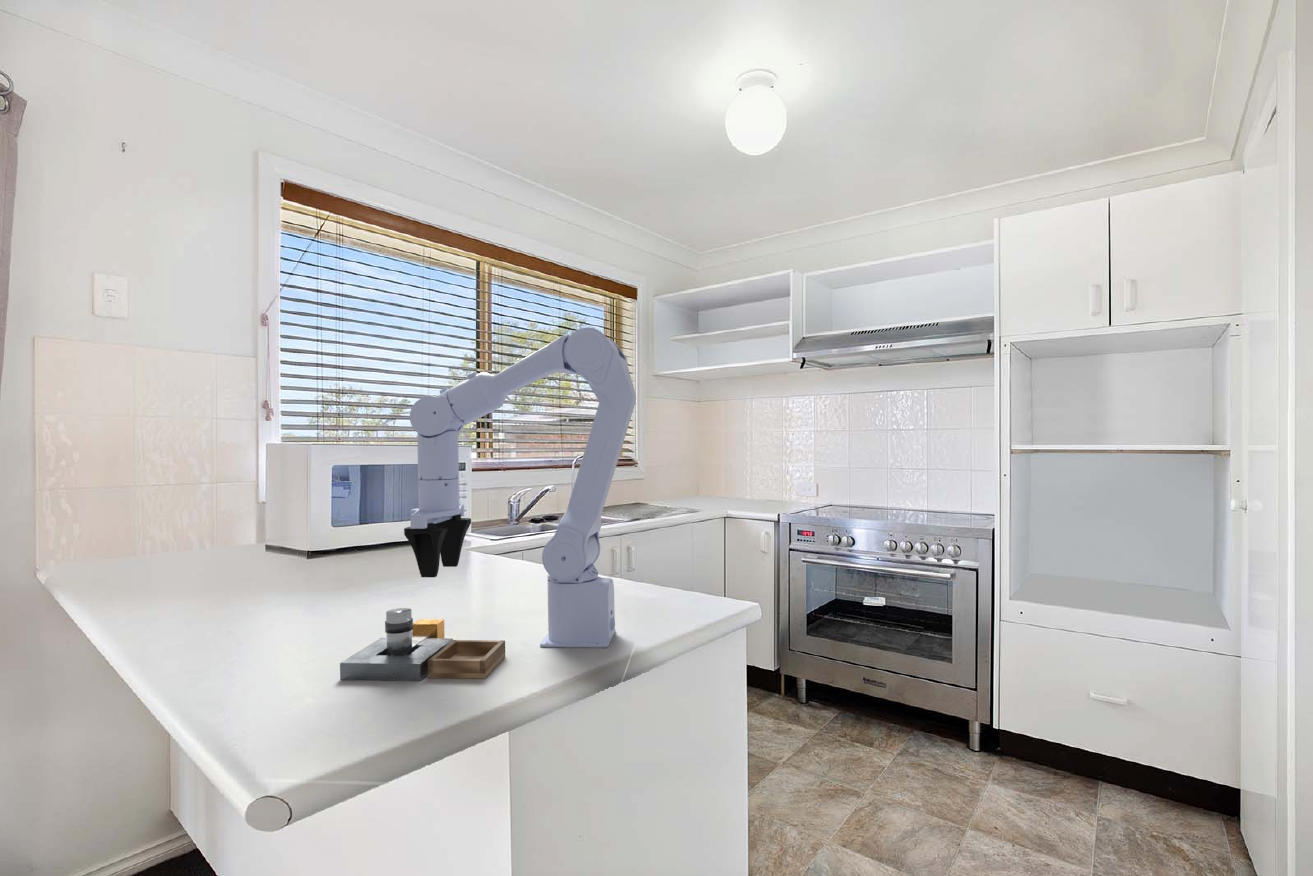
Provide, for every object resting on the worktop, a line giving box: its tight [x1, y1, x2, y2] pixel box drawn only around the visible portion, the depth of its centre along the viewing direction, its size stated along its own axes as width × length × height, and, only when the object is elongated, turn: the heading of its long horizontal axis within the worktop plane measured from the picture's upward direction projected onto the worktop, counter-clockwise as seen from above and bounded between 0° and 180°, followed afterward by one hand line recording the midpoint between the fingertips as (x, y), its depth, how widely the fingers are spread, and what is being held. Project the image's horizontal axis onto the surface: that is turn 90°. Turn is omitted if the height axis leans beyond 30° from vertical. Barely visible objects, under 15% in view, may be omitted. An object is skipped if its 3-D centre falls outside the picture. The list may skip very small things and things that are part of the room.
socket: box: [339, 637, 454, 682], centre depth 84 cm, size 10×10×2 cm
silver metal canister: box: [384, 607, 414, 656], centre depth 84 cm, size 3×3×7 cm
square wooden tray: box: [427, 639, 506, 679], centre depth 83 cm, size 7×8×2 cm
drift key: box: [412, 618, 445, 652], centre depth 90 cm, size 8×4×3 cm, turn 175°
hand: (440, 571), depth 97 cm, fingers open, 7 cm apart
